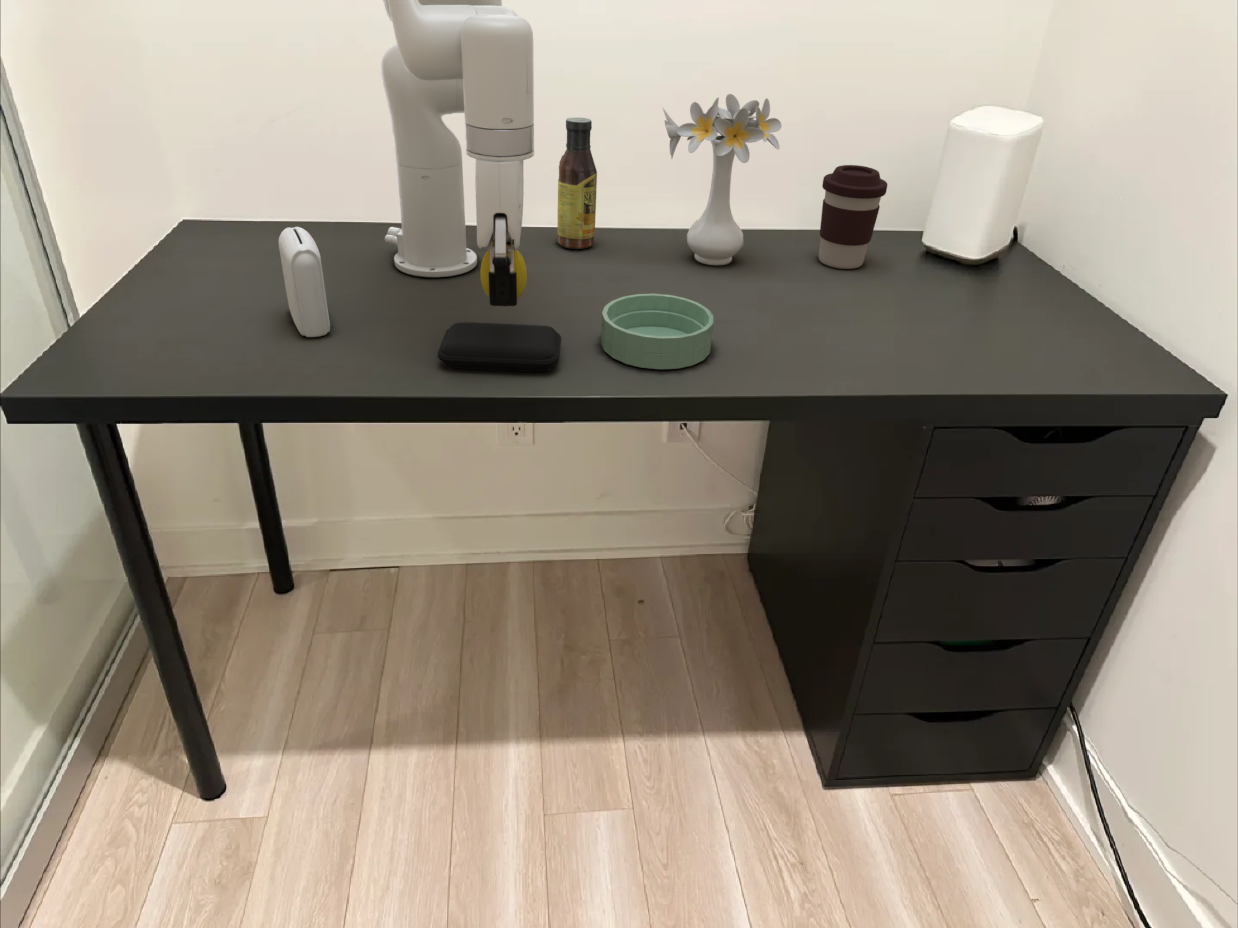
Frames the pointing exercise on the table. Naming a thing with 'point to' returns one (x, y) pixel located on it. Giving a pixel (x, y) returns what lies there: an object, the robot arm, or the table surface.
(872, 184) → the coffee cup
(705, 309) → the fruit bowl
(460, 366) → the carrying case
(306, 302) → the photo printer
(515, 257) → the lemon
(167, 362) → the table surface
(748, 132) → the flower vase
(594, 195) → the sauce bottle
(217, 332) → the table surface
